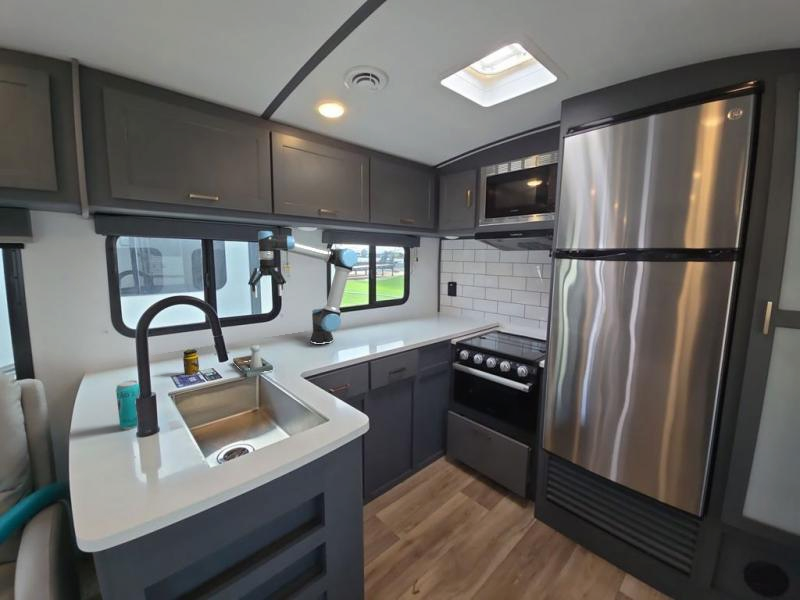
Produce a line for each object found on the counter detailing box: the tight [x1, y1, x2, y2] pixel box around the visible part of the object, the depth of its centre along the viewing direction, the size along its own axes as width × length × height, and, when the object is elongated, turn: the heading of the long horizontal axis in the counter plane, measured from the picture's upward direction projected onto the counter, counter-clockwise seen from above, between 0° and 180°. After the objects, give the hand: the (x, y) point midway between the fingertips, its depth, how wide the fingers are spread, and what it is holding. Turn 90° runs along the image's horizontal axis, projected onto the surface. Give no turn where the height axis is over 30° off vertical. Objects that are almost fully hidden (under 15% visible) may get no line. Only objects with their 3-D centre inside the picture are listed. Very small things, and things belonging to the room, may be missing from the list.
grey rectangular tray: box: [232, 354, 274, 378], centre depth 164 cm, size 26×12×3 cm, turn 41°
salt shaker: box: [250, 344, 262, 369], centre depth 158 cm, size 6×6×13 cm
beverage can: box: [115, 380, 140, 430], centre depth 105 cm, size 6×6×15 cm
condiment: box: [182, 349, 200, 375], centre depth 153 cm, size 7×8×12 cm
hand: (268, 296), depth 181 cm, fingers open, 13 cm apart
